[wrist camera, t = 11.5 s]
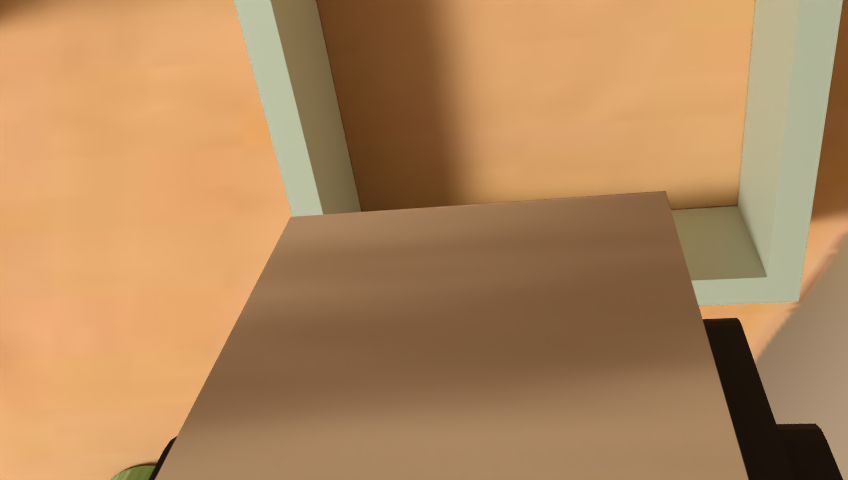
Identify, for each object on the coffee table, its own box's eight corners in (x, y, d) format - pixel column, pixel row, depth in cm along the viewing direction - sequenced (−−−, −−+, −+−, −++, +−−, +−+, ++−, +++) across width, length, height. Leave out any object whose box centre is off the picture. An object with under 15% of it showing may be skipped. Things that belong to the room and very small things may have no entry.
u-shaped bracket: (271, -55, 29) (229, -15, 25) (804, -121, 26) (856, -88, 22) (344, 251, 37) (320, 320, 32) (765, 228, 33) (798, 301, 29)
